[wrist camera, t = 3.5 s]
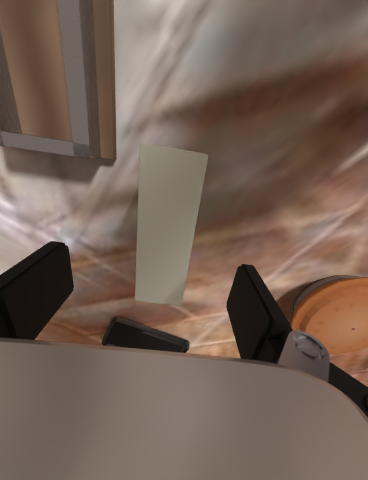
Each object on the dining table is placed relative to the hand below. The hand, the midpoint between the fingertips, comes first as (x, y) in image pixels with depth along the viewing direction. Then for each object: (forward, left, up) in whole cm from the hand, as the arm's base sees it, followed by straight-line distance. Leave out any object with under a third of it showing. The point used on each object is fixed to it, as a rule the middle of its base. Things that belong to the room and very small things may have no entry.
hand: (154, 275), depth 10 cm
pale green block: (0, 0, -15) cm, 15 cm away
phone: (+2, +27, -15) cm, 31 cm away
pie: (-27, +13, -15) cm, 33 cm away
